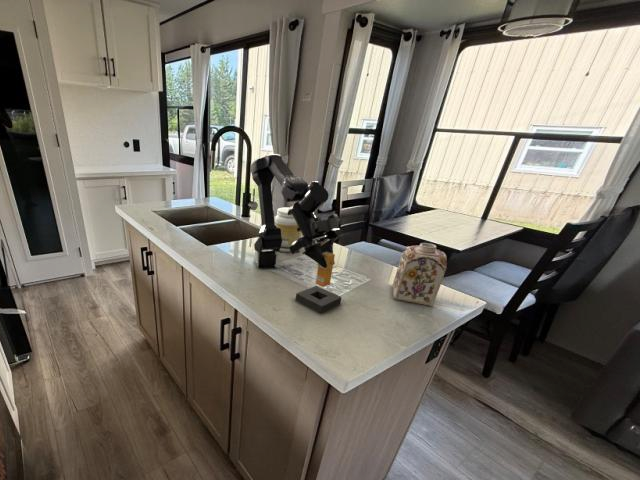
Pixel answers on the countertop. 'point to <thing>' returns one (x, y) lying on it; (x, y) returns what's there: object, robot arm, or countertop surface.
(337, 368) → the countertop surface
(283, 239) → the supplement tub
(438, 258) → the decorative jar
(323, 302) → the socket pad
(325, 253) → the supplement box
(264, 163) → the robot arm
